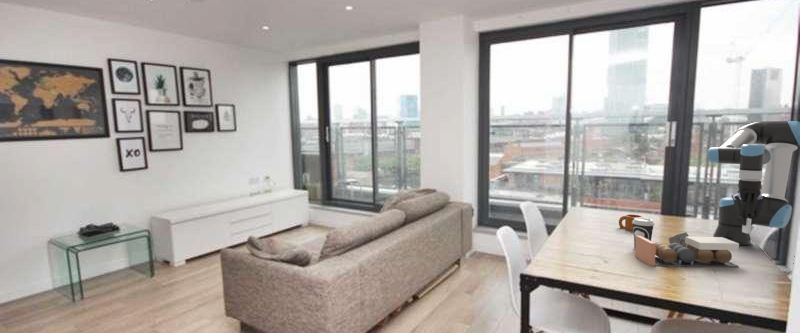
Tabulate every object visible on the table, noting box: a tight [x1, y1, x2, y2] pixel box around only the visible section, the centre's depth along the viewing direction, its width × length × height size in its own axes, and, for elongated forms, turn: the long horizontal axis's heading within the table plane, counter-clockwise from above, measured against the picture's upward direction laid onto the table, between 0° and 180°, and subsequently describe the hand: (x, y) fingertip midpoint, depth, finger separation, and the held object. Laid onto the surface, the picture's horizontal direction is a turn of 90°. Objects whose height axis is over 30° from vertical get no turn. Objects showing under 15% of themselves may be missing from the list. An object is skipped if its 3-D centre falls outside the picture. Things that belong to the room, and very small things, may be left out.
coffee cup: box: [632, 217, 655, 249], centre depth 196 cm, size 10×10×15 cm
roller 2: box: [667, 243, 695, 263], centre depth 178 cm, size 10×6×6 cm, turn 175°
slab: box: [685, 236, 740, 251], centre depth 176 cm, size 16×10×3 cm, turn 85°
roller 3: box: [685, 244, 714, 263], centre depth 177 cm, size 10×6×6 cm, turn 175°
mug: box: [618, 213, 644, 232], centre depth 231 cm, size 9×12×9 cm
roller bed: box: [654, 255, 739, 268], centre depth 178 cm, size 34×14×2 cm, turn 85°
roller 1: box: [655, 242, 677, 262], centre depth 178 cm, size 10×6×6 cm, turn 175°
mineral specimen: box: [668, 232, 689, 247], centre depth 192 cm, size 10×8×10 cm
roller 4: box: [710, 250, 733, 263], centre depth 176 cm, size 10×6×6 cm, turn 175°
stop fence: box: [634, 235, 657, 267], centre depth 179 cm, size 2×13×10 cm, turn 175°
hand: (746, 232), depth 174 cm, fingers closed
